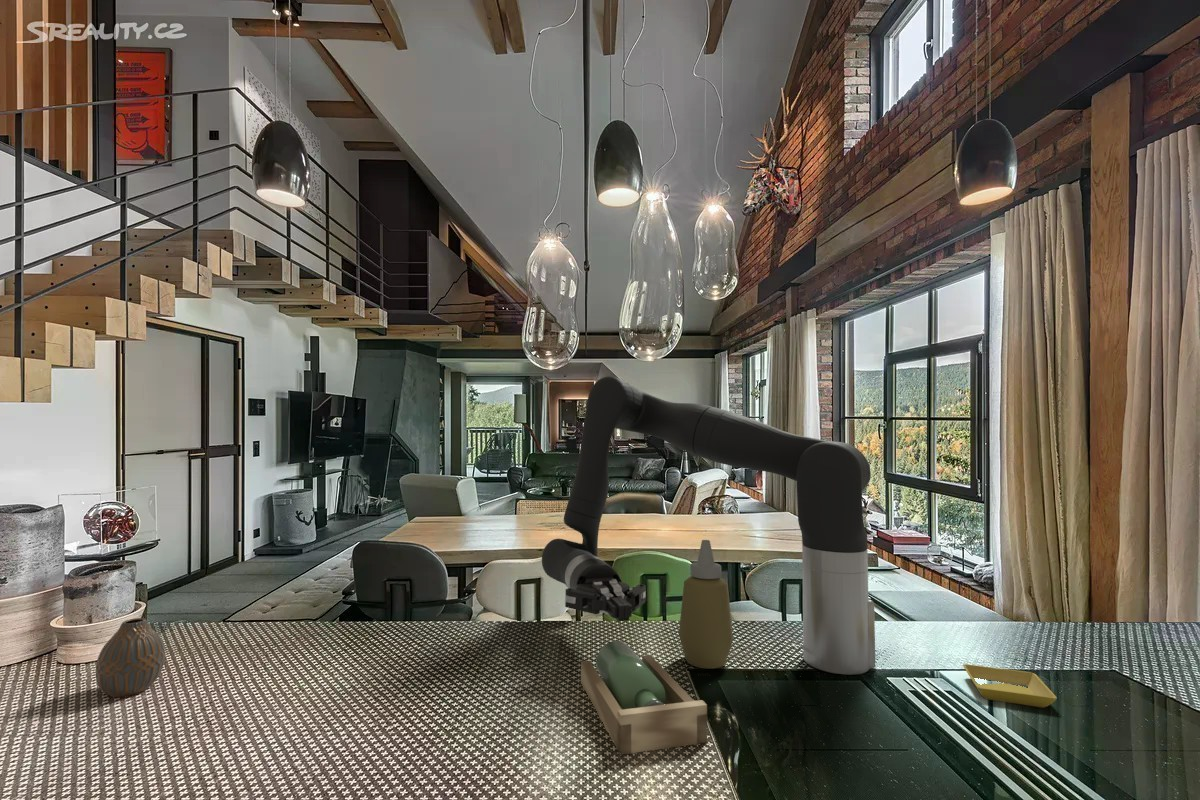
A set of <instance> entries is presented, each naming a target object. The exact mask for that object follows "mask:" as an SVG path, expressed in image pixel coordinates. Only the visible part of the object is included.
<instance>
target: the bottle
mask: <svg viewBox="0 0 1200 800" xmlns="http://www.w3.org/2000/svg"><path fill="white" fill-rule="evenodd" d="M595 660H596V661H595V662H596V663H595V665H596V671H597V672H598V674H599V675H600V677H601V678H602V680H603V681H604V683H605V684H606V686H607V688H608V689H609V691H610V692H611V694H612V695H613V697H614V698H615V700H616V701H617V703H618V704H619V706H620V707H621V709H622V710H623V709H631V708H640V707H648V706H656V705H664V704H665V698H666V695H665V690H664V687H663V685H662V684H661V682H660V681H659V680H658V679H657V678H656V677H655V675H654V674H653V673H652V672H651V671H650V670H649V669H648V667H647V666H646V665H645V664H644V663H643V662H642V658H640V657H639V655H637V653H636V652H635V651H634V650H633V649H632V648H631V646H630V645H628V643H626V642H625V641H621V640H611V641H609V642H607V643H606V644H604V645H603V646H602V647H601V649H600V650H599V651H598V654H597V656H596V659H595Z"/></svg>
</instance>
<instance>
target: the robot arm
mask: <svg viewBox="0 0 1200 800" xmlns="http://www.w3.org/2000/svg"><path fill="white" fill-rule="evenodd" d="M615 430H621V431H622V430H623V431H628V432H633V433H637V434H638V433H639V434H643V435H647V436H652V437H655V438H657V439H661V440H662V441H664V442H667V443H668V444H670V445H672V446H673V447H676V448H678V449H680V450H682V451H685V452H686V453H690V454H692V455H695V456H696V457H700V458H702V459H706V460H708V461H711V462H714V463H719V464H722V465H726V466H731V467H735V468H741V469H746V470H753V471H758V472H765V473H772V474H776V475H777V476H778V475H779V476H782V477H785V478H787V479H790V480H791V481H792V480H793V481H795V482H796V504H797V522H798V526H799V530H800V532H801V543H802V544H801V547H802V548H801V549H802V554H801V555H802V556H801V557H802V562H801V563H802V650H803V653H802V654H803V657H802V659H803V660H804V662H805V663H806V664H808V665H809V666H811V667H813V668H815V669H818V670H820V671H823V672H826V673H831V674H838V675H849V676H851V675H861V674H864V673H868V672H869V670H870V669H871V668H876V630H875V629H876V628H875V627H876V626H875V625H876V624H875V615H876V614H875V602H874V601H873V600H871V599H869V569H868V568H869V567H868V566H869V565H868V564H869V562H868V561H869V560H868V559H869V558H868V556H869V555H868V533H867V530H866V527H865V524H864V518H863V517H864V516H863V514H864V513H863V491H864V490H865V489H866V488H867V486H868V485H869V482H870V480H871V472H872V471H871V468H870V464H869V461H868V459H867V458H866V456H865V454H863V452H862V451H860V450H859V449H858V448H857V447H855V446H854V445H852V444H849V443H846V442H842V441H832V440H825V439H820V438H813V437H811V436H810V437H809V436H804V435H799V434H794V433H792V432H787V431H784V430H782V429H779V428H777V427H773V426H772V425H769V424H767V423H764V422H761V421H758V420H757V419H754V418H751V417H748V416H745V415H741V414H738V413H735V412H732V411H730V410H725V409H721V408H719V407H715V406H711V405H708V404H707V405H706V404H701V403H691V402H686V403H685V402H673V401H669V400H665V399H661V398H659V397H656V396H654V395H652V394H649V393H646V392H644V391H643V390H640V389H639V388H637V387H635V386H633V385H631V384H630V383H628V382H627V381H624V380H622V379H621V378H619V377H616V376H611V375H610V376H603V377H601V378H599V379H598V380H597V381H596V382H595V383H594V384H592V387H591V389H590V390H589V393H588V396H587V401H586V406H585V413H584V422H583V429H582V434H581V435H582V436H581V441H580V442H581V443H580V450H579V456H578V462H577V463H578V464H577V469H576V472H575V476H574V481H573V483H572V487H571V490H570V494H569V497H568V502H567V504H566V508H565V511H564V516H563V523H564V524H565V525H566V526H567V527H568V528H570V529H572V530H574V531H575V532H578V533H580V534H581V537H582V543H579V542H577V541H572V540H567V539H564V538H554V539H551V540H550V541H549V542H548V543H547V544H546V545H545V547H544V548H543V551H542V554H541V564H542V565H541V566H542V568H543V571H544V573H545V574H546V575H547V576H548V577H549V578H551V579H553V580H555V581H557V582H559V583H562V584H564V585H565V586H566V588H565V601H564V602H565V603H564V605H565V608H567V609H573V610H576V611H580V612H584V613H589V614H592V615H598V614H600V613H603V614H604V615H605V614H606V615H607V616H610V617H611V618H613V619H615V620H616V621H617V622H628V621H630V618H632V613H633V612H635V611H637V610H638V609H639V608H640V607H641V606H643V604H645V603H646V596H647V595H646V591H647V590H646V584H644V583H639V584H637V585H633V586H632V587H631V588H630V585H629V584H628V583H626V582H622V579H621V577H620V575H619V574H618V572H617V571H616V570H615V568H613V567H612V566H611V565H610V564H608V563H607V562H606V561H605V560H603V559H602V558H600V557H598V555H599V554H598V546H599V545H598V540H599V539H598V538H599V532H600V531H599V530H600V523H601V520H602V516H603V513H604V510H605V506H606V503H607V499H608V493H609V486H610V485H609V484H610V482H609V481H610V476H609V451H610V444H611V440H612V436H613V435H614V431H615Z"/></svg>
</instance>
